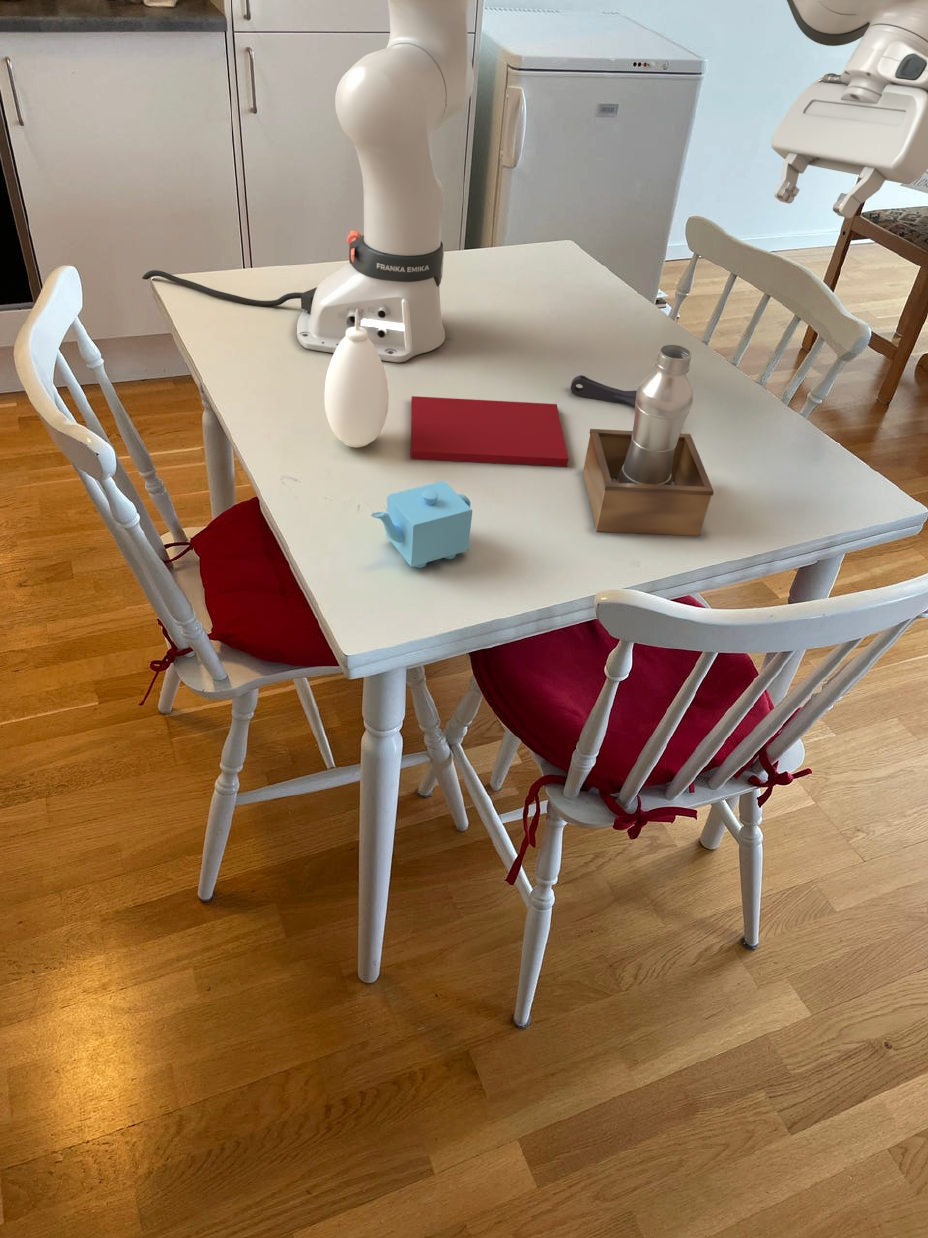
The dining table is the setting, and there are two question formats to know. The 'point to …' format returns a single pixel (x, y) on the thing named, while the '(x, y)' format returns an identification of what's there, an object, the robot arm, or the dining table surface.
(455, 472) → the dining table surface
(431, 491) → the teapot
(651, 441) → the metal bottle
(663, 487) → the wooden box
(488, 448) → the cushion mat
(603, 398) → the squeegee
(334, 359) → the white air blower bulb
